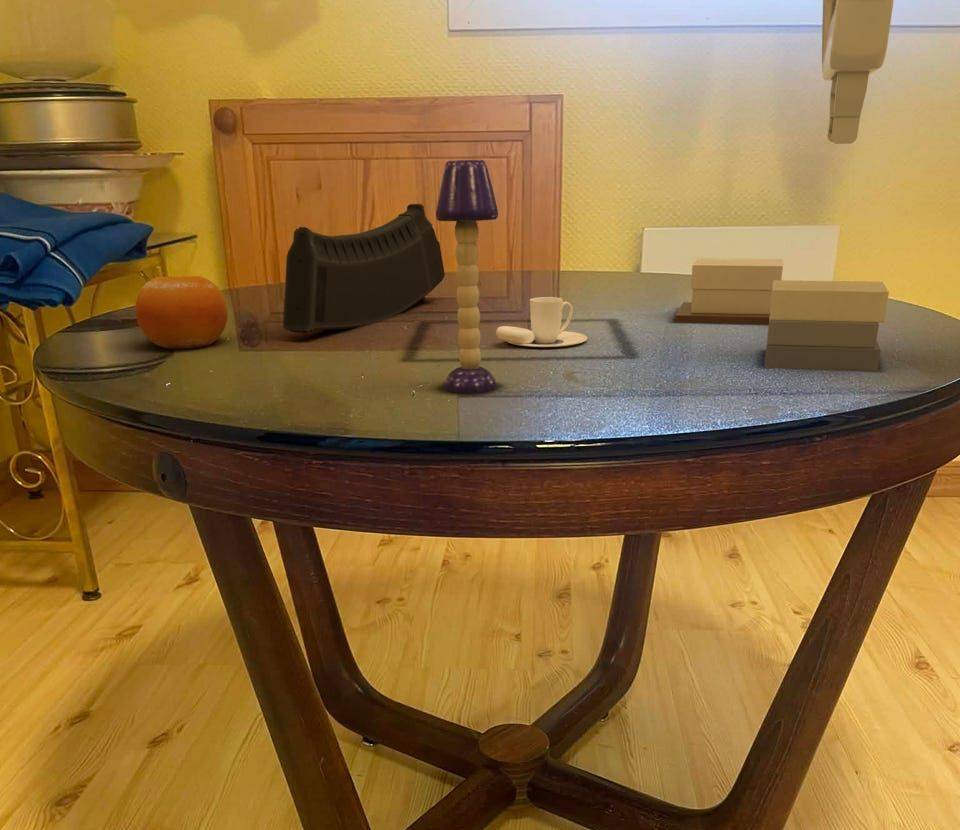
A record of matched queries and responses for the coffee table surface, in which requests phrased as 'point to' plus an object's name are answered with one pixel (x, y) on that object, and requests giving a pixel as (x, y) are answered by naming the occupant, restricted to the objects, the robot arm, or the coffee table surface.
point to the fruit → (181, 311)
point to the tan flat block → (828, 301)
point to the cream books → (731, 291)
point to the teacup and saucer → (543, 325)
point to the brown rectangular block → (822, 345)
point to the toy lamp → (467, 264)
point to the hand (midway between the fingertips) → (840, 142)
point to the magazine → (360, 273)
